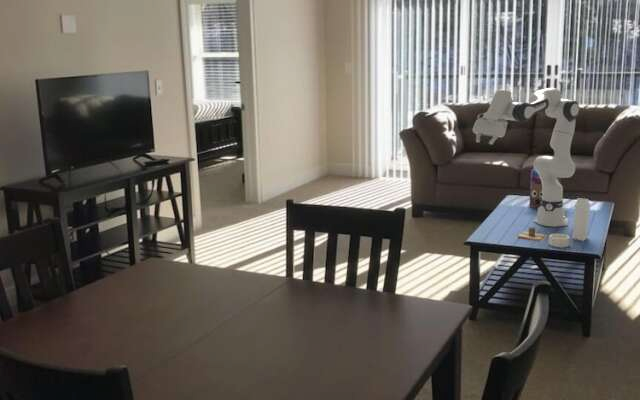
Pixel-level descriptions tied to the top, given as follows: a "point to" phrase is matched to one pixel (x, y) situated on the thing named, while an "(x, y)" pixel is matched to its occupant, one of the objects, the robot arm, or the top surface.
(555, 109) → the robot arm
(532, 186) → the cereal box
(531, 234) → the lid
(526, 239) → the mat
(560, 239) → the bowl
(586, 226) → the milk
